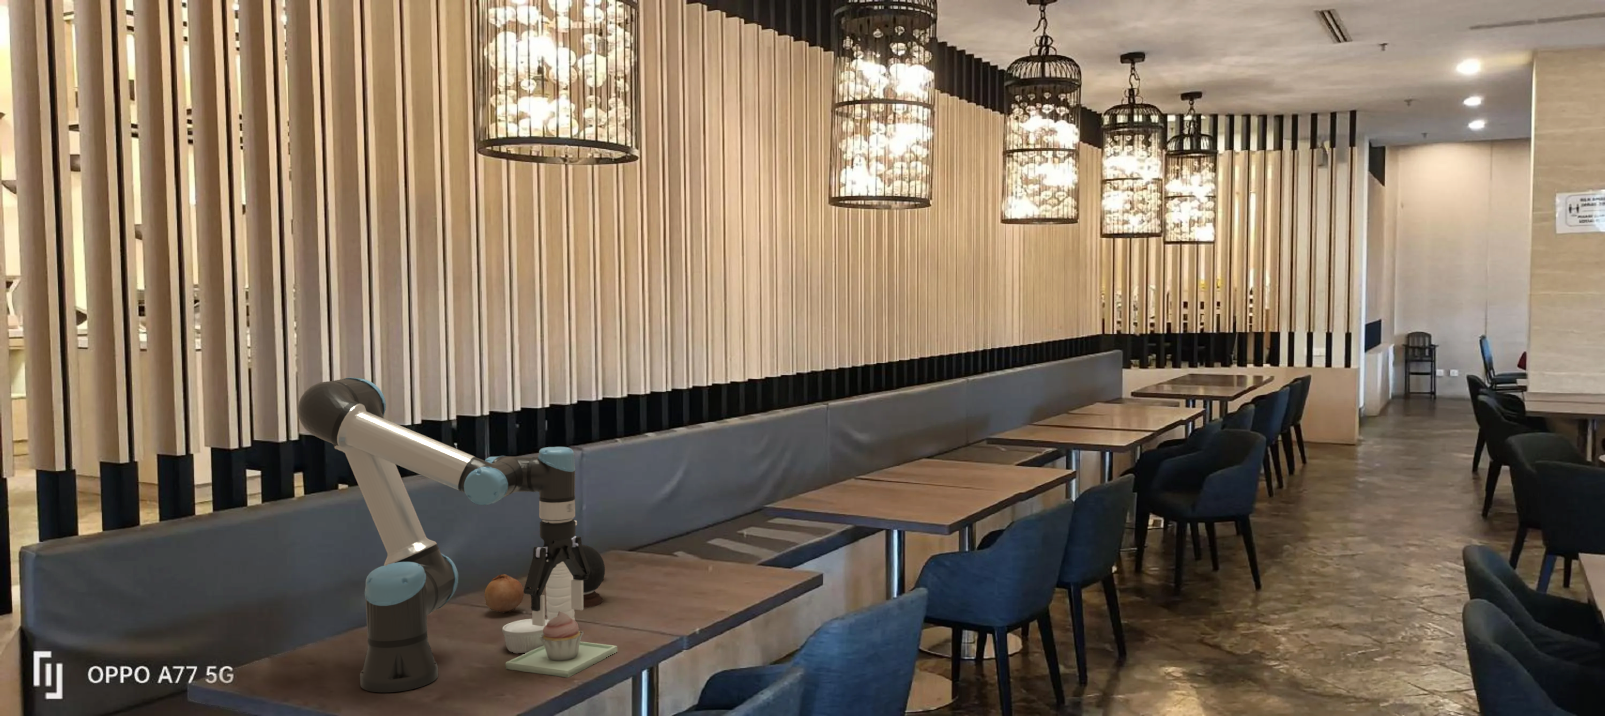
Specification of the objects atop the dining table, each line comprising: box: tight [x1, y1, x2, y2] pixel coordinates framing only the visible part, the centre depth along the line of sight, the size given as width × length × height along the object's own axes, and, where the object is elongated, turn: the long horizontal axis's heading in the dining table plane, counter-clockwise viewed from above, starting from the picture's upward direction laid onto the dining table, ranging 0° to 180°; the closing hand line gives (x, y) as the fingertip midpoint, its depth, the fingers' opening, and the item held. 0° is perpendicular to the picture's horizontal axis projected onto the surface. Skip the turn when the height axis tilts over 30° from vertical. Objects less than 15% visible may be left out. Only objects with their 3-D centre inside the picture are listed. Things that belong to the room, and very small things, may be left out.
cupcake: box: [540, 611, 584, 661], centre depth 246 cm, size 9×9×10 cm
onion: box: [484, 573, 525, 614], centre depth 285 cm, size 10×9×10 cm
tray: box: [505, 640, 618, 678], centre depth 246 cm, size 18×16×1 cm
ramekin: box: [501, 618, 550, 654], centre depth 256 cm, size 11×11×5 cm
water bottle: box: [545, 519, 578, 621], centre depth 271 cm, size 9×6×25 cm
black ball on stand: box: [573, 544, 606, 609], centre depth 294 cm, size 13×13×15 cm
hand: (558, 617), depth 246 cm, fingers open, 13 cm apart
